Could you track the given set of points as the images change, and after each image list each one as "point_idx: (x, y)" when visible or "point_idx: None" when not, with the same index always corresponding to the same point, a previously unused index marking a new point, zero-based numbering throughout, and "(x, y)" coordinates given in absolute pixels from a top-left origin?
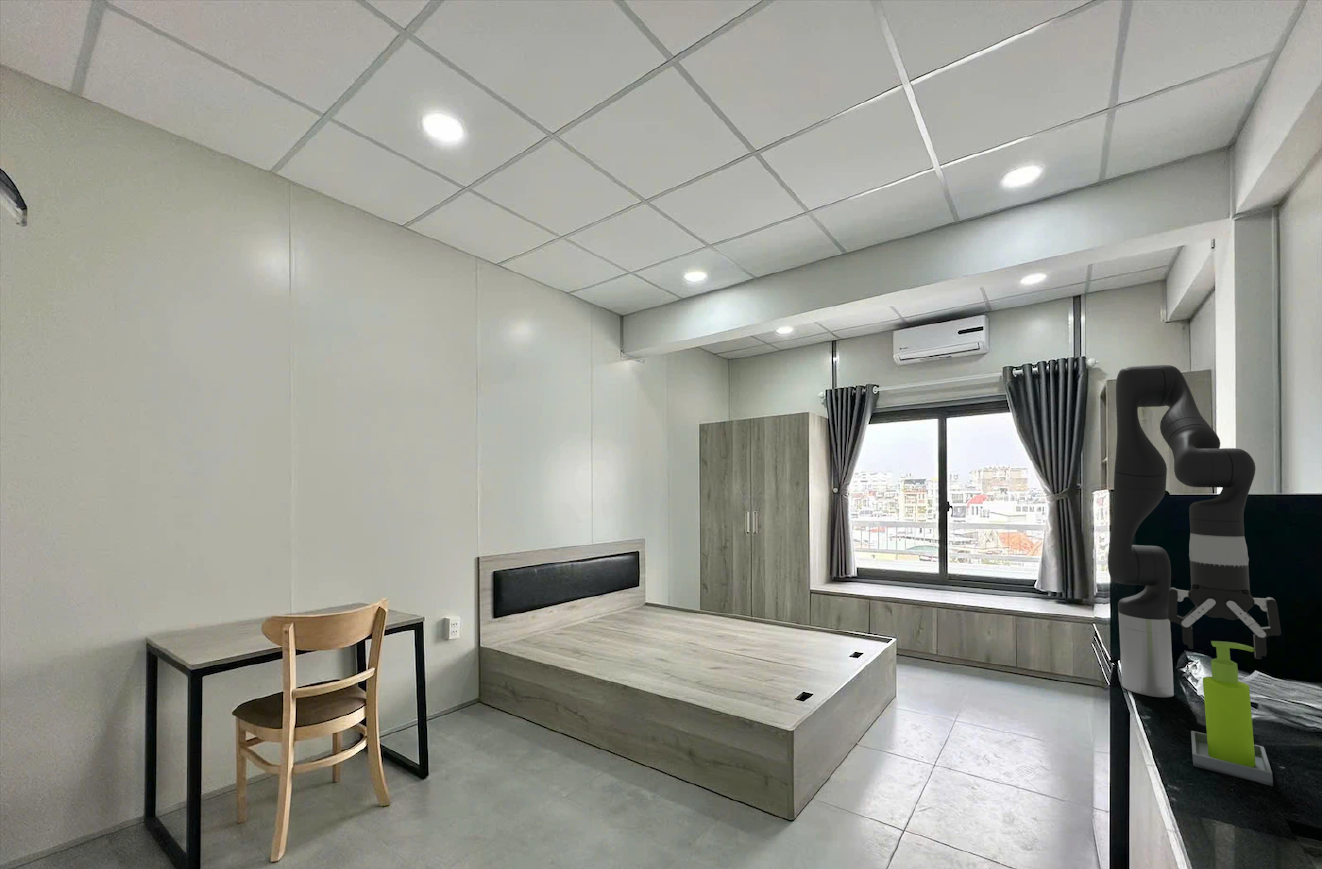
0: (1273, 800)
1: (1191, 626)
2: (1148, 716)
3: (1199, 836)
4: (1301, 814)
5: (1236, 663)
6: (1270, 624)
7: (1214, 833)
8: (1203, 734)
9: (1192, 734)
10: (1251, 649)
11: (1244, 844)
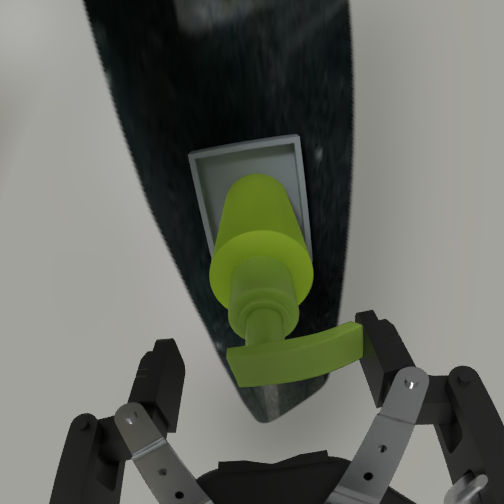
0: (308, 297)
1: (157, 407)
2: (108, 76)
3: (256, 408)
4: (332, 311)
5: (297, 309)
6: (442, 446)
7: (264, 399)
8: (208, 155)
9: (194, 177)
10: (353, 361)
11: (285, 398)
